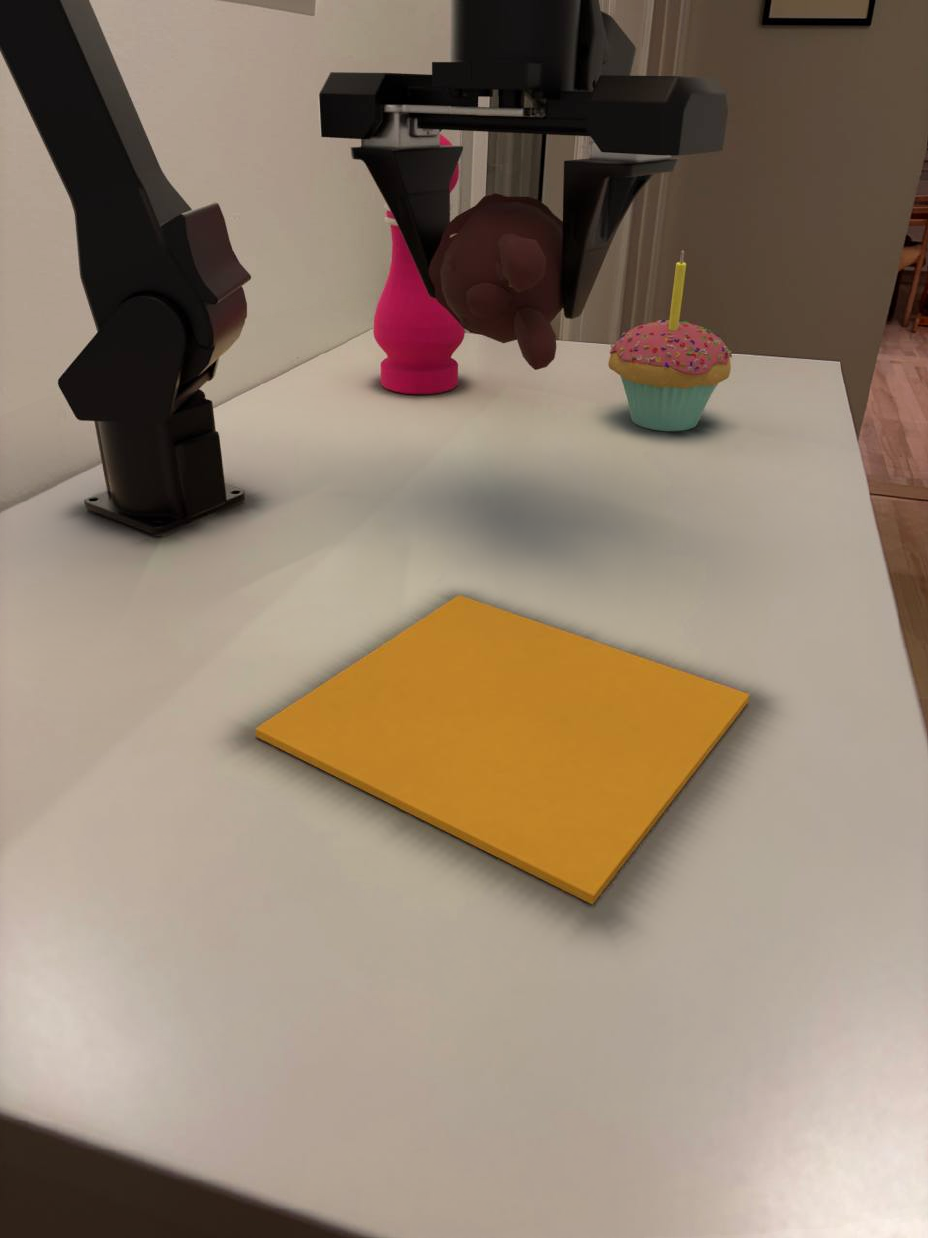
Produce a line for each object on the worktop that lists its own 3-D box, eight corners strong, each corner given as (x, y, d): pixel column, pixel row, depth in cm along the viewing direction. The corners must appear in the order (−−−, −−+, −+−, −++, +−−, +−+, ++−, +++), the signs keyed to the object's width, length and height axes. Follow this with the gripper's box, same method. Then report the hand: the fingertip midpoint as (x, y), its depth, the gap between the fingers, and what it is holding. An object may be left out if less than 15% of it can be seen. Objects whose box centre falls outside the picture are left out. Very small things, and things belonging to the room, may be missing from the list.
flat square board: (255, 737, 34) (254, 728, 34) (458, 601, 44) (458, 594, 44) (592, 905, 28) (593, 895, 27) (748, 702, 37) (750, 694, 37)
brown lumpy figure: (404, 186, 50) (430, 256, 38) (536, 150, 50) (606, 208, 38) (434, 312, 54) (467, 411, 42) (557, 279, 54) (626, 368, 42)
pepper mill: (362, 392, 74) (351, 102, 64) (390, 369, 80) (384, 101, 70) (451, 400, 72) (454, 104, 62) (472, 376, 78) (478, 104, 69)
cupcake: (723, 444, 64) (753, 258, 58) (599, 434, 65) (615, 252, 59) (719, 408, 71) (745, 240, 65) (607, 400, 73) (622, 235, 67)
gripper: (795, -66, 41) (737, 305, 48) (443, -44, 50) (441, 266, 57) (703, -108, 33) (651, 345, 40) (301, -74, 41) (321, 293, 49)
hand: (503, 306), depth 47 cm, fingers closed on brown lumpy figure, 7 cm apart
